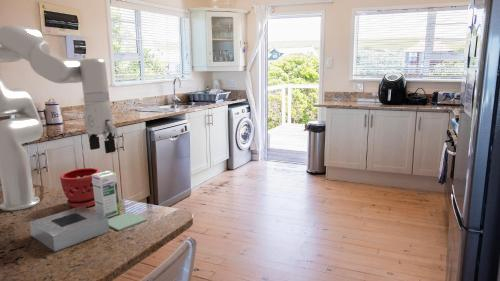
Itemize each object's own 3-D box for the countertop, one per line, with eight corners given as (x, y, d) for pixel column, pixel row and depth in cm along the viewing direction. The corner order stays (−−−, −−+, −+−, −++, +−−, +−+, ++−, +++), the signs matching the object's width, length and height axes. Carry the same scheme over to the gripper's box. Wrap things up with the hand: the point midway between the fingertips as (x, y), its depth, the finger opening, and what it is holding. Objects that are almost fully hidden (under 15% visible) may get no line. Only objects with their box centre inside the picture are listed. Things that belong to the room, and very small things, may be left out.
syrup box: (104, 219, 125) (100, 176, 122) (95, 215, 129) (91, 173, 126) (120, 214, 129) (116, 172, 127) (111, 210, 133) (107, 169, 130)
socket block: (31, 235, 114) (29, 221, 113) (83, 218, 126) (82, 206, 125) (55, 251, 104) (53, 236, 103) (109, 231, 116) (107, 217, 115)
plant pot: (78, 197, 148) (75, 167, 145) (109, 198, 145) (106, 168, 143) (55, 209, 135) (51, 176, 133) (89, 211, 133) (85, 178, 130)
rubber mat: (101, 222, 122) (101, 221, 122) (129, 213, 130) (129, 212, 130) (118, 231, 116) (118, 229, 116) (146, 220, 123) (146, 219, 123)
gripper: (72, 98, 124) (78, 149, 127) (99, 100, 113) (105, 156, 116) (94, 96, 130) (100, 145, 133) (122, 97, 119) (127, 151, 122)
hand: (102, 150), depth 125 cm, fingers open, 9 cm apart
